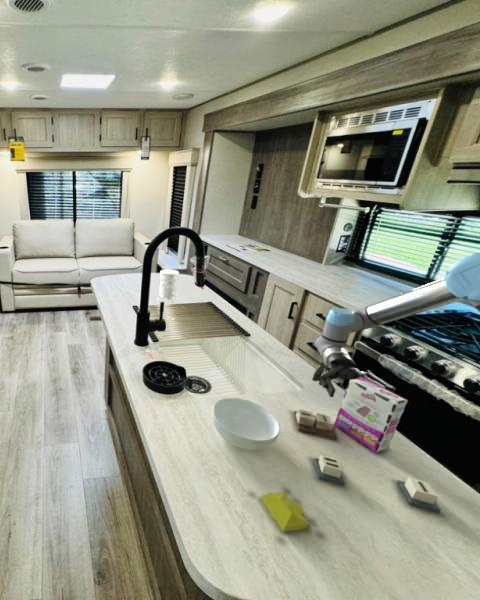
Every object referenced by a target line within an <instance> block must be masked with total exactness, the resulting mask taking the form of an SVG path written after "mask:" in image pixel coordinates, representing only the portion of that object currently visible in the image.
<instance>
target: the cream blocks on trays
mask: <svg viewBox="0 0 480 600" xmlns="http://www.w3.org/2000/svg"><path fill="white" fill-rule="evenodd" d="M312 461H313V465H314V468H315V471H316V474H317V478H318V480H320V481H324V482H327V483H331V484H335V485H338V486H342V487H344V486H345V484H346V482H345V481H344V477H343V475H342V473H343V468H342V466H341V463H340V461H339V459H338V458H335V457H331V456H327V455H323V454H320V456H319V458H317V457H313V459H312ZM396 484H397V486H398V488H399V489H400V491H401V492H402V495H403V496H404V498H405V500H406V502H407V504H408V505H409V506H411V507H416V508H419V509H422V510H425V511H428V512H432V513H437V514H440V512H441V509H440V507H439V506H438V504H437V503H436V500H437V499H438V495H437V493H436V492H435V490H434V489H433V487H432V486H431V484H430V483H429V482H427V481H424V480H423V481H422V480H420V479H415V478H412V477H408V478H407V479H406V481H405V480H404V481H403V480H400V479H398V480H397V482H396Z"/></svg>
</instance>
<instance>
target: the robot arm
mask: <svg viewBox="0 0 480 600" xmlns="http://www.w3.org/2000/svg"><path fill="white" fill-rule="evenodd" d="M460 301H467V302H470V304H471V305H472V306H473V307H474V308H475V309H476V310H477V312H478V313H480V252H475V253H472V254H469V255H467V256H464V257H461V258H460V259H458V260H456V261H455V262H453V263H452V264H451V265H450V266H449V267H448V269H446V272H445V275H444V278H442V279H439V280H436V281H432V282H430V283H427V284H425V285H421V286H420V287H417V288H414V289H411V290H408V291H406V292H402V293H399V294H397V295H394V296H392V297H389V298H387V299H383V300H381V301H378V302H375V303H372V304H370V305H366V306H364V307H361V308H358V309H356V310H351V309H348V308H342V307H339V308H338V307H333V308H331V309H330V310H329V311H328V313H327V316H326V317H325V323H324V326H323V330H322V334H321V335H320V336H318V338H316V341H315V347H316V350H317V351H318V353H319V355H320V356H321V358H322V360H323V362H319V366H318V368H317V369H316V370H315V371H314V373H313V375H312V379H311V380H312V381H313V382H318V385H319V386H321V387H322V388H324V389H325V390H326V392H327V394H328V396H329V398H334V395H335V394H336V388H335V386H334V385H333V382H332V380H336V379H338V378H339V379H343V380H352V379H356V378H359V377H362V378H364V379H366V380H368V381H370V382H372V383H374V384H376V385H378V386H380V387H382V388H384V389H386V390H388V391H390V392H392V393H394V394H395V391H396V387H394V386H393V385H391V384H390V383H388V382H386V381H385V380H383V379H381V378H380V377H378V376H376V375H375V374H374V373H373V372H372V371H371V370H369V369H368V370H365V371H360V370H359V369H358V367H357V365H356V362H355V361H354V360H353V358H352V356H351V355H350V354H349V352H348V351H347V350H346V345H347V344H348V340H349V337H350V334H352V333H356V332H359V331H363V330H368V329H373V328H375V327H378V326H380V325H384V324H387V323H390V322H394V321H398V320H400V319H403V318H407V317H410V316H414V315H417V314H420V313H424V312H427V311H430V310H434V309H438V308H441V307H444V306H447V305H450V304H454V303H457V302H460ZM326 371H328V372H326ZM325 372H326V373H325Z"/></svg>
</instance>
